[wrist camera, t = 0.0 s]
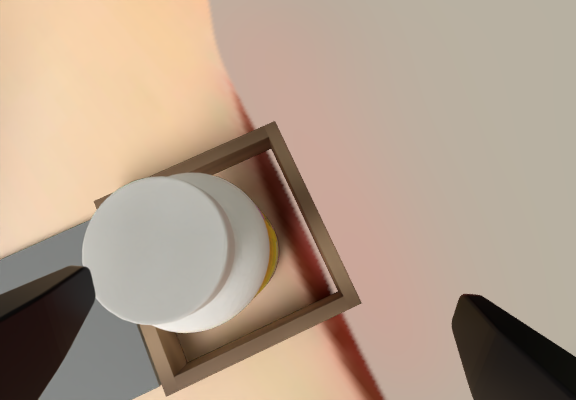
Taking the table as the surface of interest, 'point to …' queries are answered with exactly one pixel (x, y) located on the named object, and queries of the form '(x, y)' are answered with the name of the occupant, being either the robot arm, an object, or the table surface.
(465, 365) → the robot arm
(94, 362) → the mat
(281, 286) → the table surface
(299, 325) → the square frame
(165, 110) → the table surface
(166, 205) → the supplement bottle
